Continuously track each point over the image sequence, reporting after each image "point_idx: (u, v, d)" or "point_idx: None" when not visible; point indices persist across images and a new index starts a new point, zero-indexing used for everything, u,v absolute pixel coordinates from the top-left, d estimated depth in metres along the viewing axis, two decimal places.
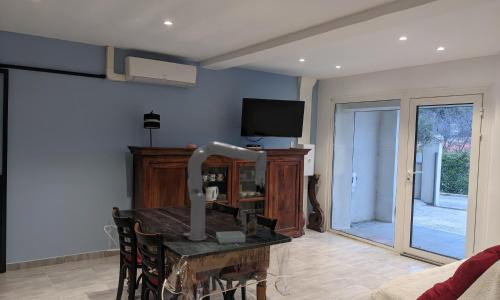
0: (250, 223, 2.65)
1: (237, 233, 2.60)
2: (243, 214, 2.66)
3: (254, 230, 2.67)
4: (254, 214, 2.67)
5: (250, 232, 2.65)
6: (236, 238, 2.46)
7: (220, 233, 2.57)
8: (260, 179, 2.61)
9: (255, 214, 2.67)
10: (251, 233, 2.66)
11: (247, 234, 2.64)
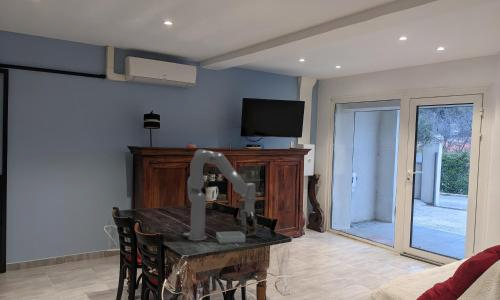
0: None
1: (237, 233, 2.60)
2: (243, 214, 2.66)
3: (254, 230, 2.67)
4: (254, 214, 2.67)
5: (250, 232, 2.65)
6: (236, 238, 2.46)
7: (220, 233, 2.57)
8: (249, 211, 2.63)
9: (255, 214, 2.67)
10: (251, 233, 2.66)
11: (247, 234, 2.64)
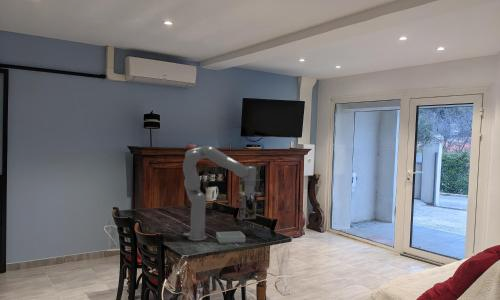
0: None
1: (237, 233, 2.60)
2: (243, 197, 2.66)
3: (253, 214, 2.67)
4: (254, 198, 2.66)
5: (249, 216, 2.64)
6: (236, 238, 2.46)
7: (220, 233, 2.57)
8: (249, 194, 2.62)
9: (255, 198, 2.67)
10: (251, 216, 2.65)
11: (246, 217, 2.63)
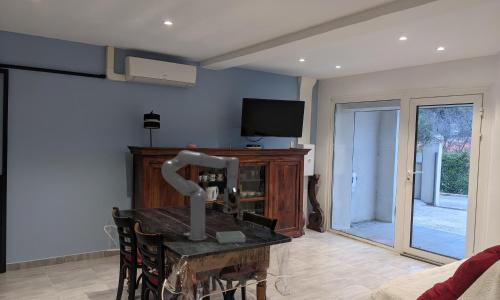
0: None
1: (237, 233, 2.60)
2: (225, 190, 2.50)
3: (236, 207, 2.51)
4: (237, 190, 2.51)
5: (232, 209, 2.49)
6: (236, 238, 2.46)
7: (220, 233, 2.57)
8: (231, 187, 2.47)
9: (238, 190, 2.52)
10: (233, 210, 2.50)
11: (229, 211, 2.48)
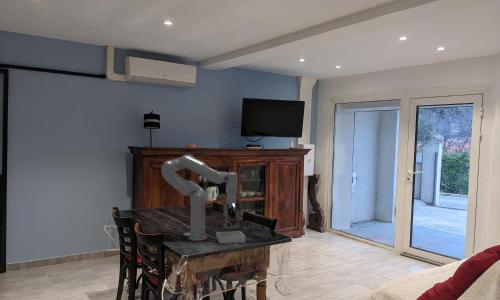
0: None
1: (237, 233, 2.60)
2: (224, 205, 2.50)
3: (236, 222, 2.51)
4: (236, 205, 2.51)
5: (231, 225, 2.49)
6: (236, 238, 2.46)
7: (220, 233, 2.57)
8: (230, 202, 2.47)
9: (237, 205, 2.51)
10: (233, 225, 2.50)
11: (229, 226, 2.48)
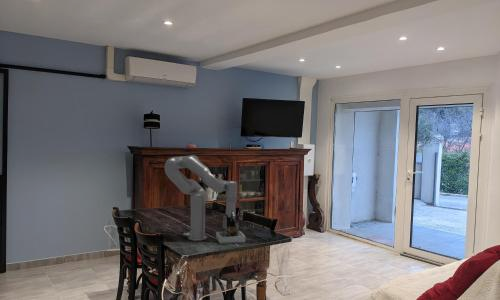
0: (231, 227, 2.49)
1: None
2: (224, 217, 2.51)
3: (235, 234, 2.51)
4: (235, 217, 2.51)
5: (230, 236, 2.49)
6: (236, 238, 2.46)
7: (220, 233, 2.57)
8: (230, 211, 2.47)
9: (237, 217, 2.51)
10: None
11: None
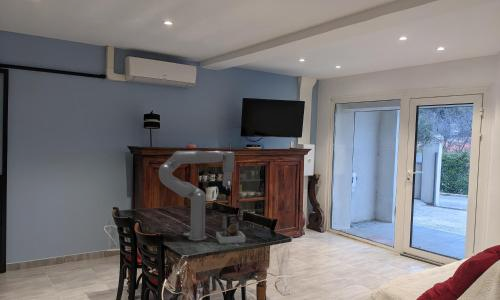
0: (231, 227, 2.49)
1: None
2: (224, 217, 2.51)
3: (235, 234, 2.51)
4: (235, 217, 2.51)
5: (230, 236, 2.49)
6: (236, 238, 2.46)
7: (220, 233, 2.57)
8: (226, 181, 2.51)
9: (237, 217, 2.51)
10: None
11: None
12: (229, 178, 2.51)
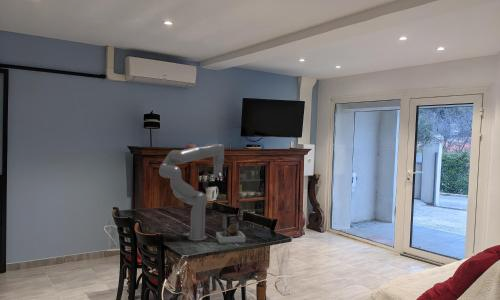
0: (231, 227, 2.49)
1: None
2: (224, 217, 2.51)
3: (235, 234, 2.51)
4: (235, 217, 2.51)
5: (230, 236, 2.49)
6: (236, 238, 2.46)
7: (220, 233, 2.57)
8: (217, 172, 2.62)
9: (237, 217, 2.51)
10: None
11: None
12: (220, 169, 2.62)
